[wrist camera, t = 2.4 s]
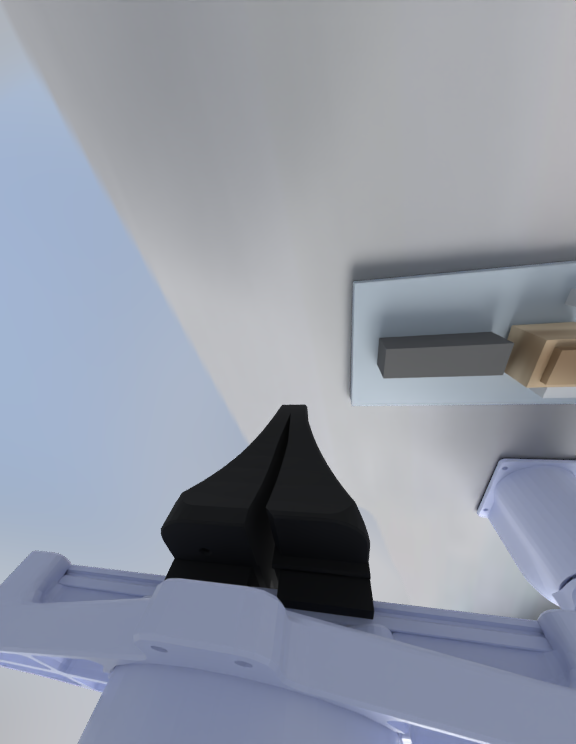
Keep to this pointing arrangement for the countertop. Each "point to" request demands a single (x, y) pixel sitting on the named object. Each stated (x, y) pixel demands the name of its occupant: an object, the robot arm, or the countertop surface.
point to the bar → (443, 355)
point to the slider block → (543, 355)
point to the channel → (456, 329)
